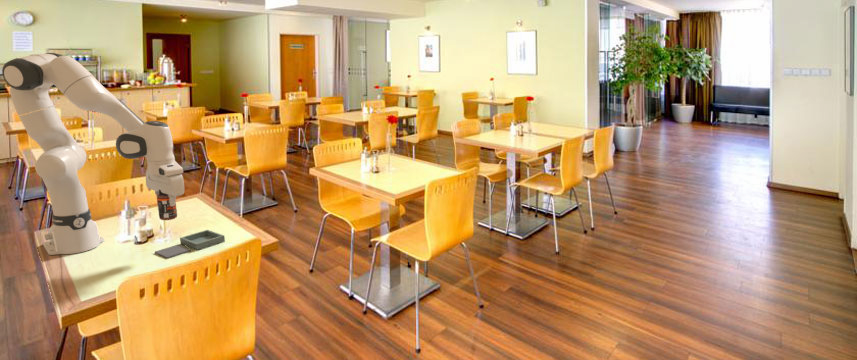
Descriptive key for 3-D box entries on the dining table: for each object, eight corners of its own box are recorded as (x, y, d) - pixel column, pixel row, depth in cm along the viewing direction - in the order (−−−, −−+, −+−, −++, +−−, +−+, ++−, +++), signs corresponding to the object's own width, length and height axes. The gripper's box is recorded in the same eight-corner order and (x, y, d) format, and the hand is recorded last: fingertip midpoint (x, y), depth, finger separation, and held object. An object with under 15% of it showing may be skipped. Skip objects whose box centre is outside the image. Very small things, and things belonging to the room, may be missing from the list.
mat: (154, 253, 196) (154, 251, 195) (178, 245, 203) (178, 244, 202) (167, 258, 190) (167, 257, 190) (191, 251, 197) (191, 249, 197)
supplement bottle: (170, 221, 190) (166, 191, 187) (155, 220, 191) (151, 190, 188) (181, 216, 196) (177, 186, 193) (166, 215, 197) (162, 185, 194)
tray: (180, 243, 205) (179, 237, 204) (208, 235, 214) (207, 229, 213) (197, 250, 198) (196, 244, 197) (224, 241, 207) (224, 235, 207)
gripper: (138, 164, 192) (143, 201, 195) (168, 172, 180) (172, 211, 184) (155, 161, 197) (160, 197, 200) (185, 168, 185) (190, 206, 189)
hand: (166, 204), depth 192 cm, fingers closed on supplement bottle, 6 cm apart
